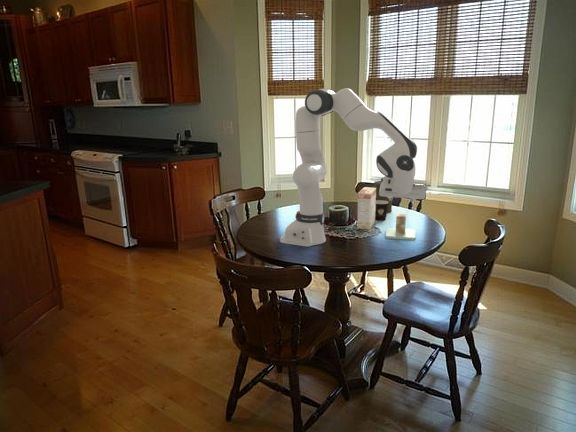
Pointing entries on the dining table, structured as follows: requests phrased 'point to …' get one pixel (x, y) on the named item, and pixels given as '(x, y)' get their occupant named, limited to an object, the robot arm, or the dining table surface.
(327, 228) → the dining table surface
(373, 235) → the dining table surface
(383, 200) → the canister
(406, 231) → the white square tile
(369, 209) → the coffeecake box
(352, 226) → the dining table surface
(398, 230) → the maple block
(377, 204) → the coffee mug
